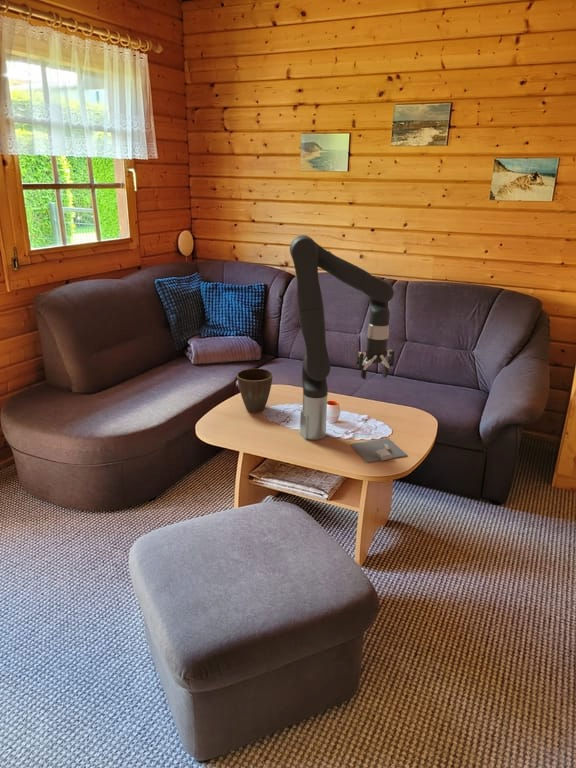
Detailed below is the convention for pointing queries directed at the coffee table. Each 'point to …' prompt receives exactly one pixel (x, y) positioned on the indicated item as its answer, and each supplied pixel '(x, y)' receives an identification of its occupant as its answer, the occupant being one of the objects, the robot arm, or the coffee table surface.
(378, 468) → the coffee table surface
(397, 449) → the mat
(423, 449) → the coffee table surface
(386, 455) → the lighter
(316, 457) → the coffee table surface
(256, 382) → the plant pot
